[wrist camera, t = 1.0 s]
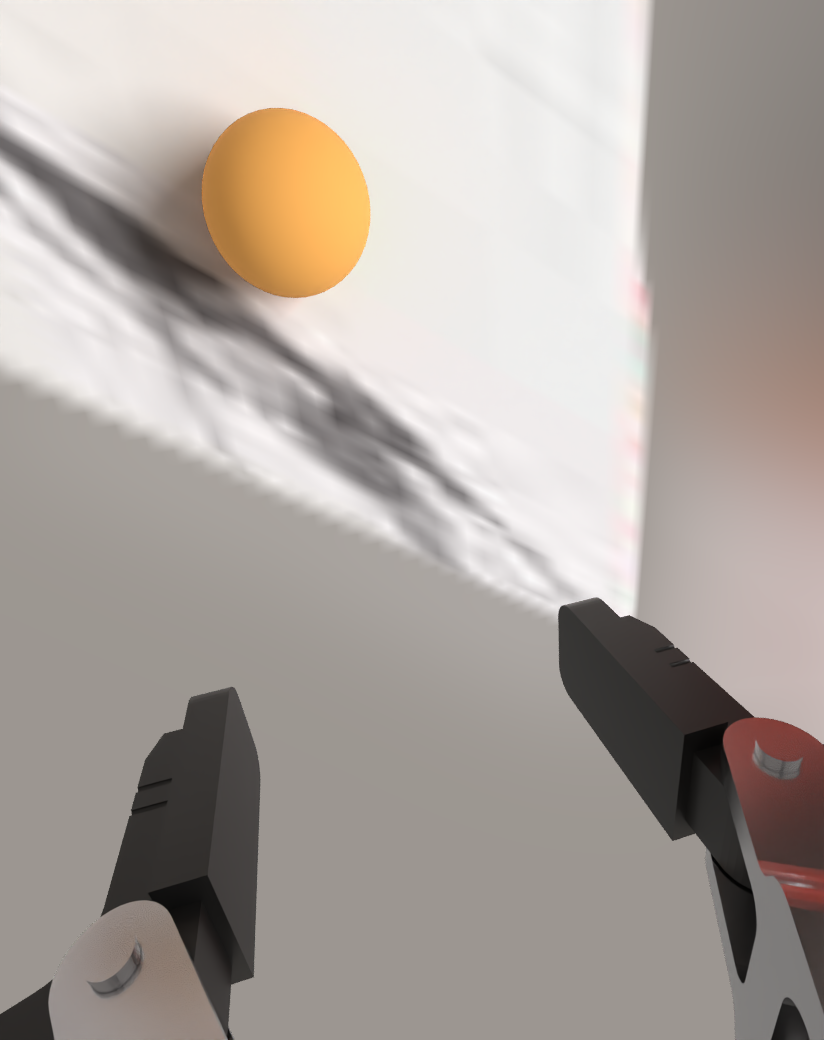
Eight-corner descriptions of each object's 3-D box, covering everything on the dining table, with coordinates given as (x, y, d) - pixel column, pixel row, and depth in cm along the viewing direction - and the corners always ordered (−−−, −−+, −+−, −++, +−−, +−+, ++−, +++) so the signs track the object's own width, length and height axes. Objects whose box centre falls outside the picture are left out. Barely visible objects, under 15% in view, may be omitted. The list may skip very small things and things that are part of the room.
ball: (192, 140, 19) (163, 91, 14) (345, 125, 20) (367, 73, 15) (233, 305, 22) (220, 311, 17) (368, 286, 22) (395, 286, 17)
